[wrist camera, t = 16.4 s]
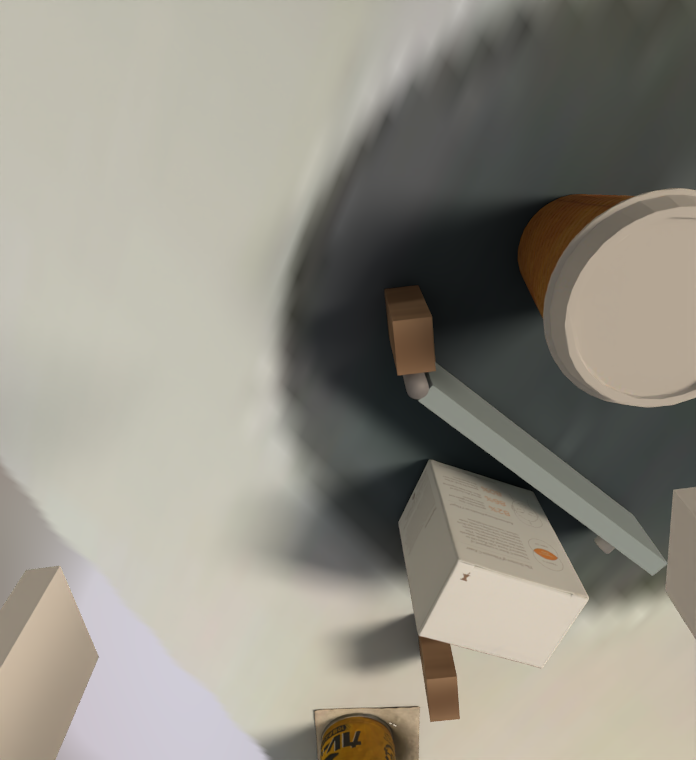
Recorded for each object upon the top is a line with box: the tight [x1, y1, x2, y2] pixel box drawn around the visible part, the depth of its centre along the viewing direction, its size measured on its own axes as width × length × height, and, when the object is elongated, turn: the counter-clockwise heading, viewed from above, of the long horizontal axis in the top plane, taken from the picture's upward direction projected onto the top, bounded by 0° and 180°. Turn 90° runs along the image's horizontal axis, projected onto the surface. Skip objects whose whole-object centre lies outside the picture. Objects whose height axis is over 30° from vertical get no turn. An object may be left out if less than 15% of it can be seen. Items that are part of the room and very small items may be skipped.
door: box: [403, 362, 668, 576], centre depth 40 cm, size 21×2×6 cm, turn 51°
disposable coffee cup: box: [518, 188, 696, 407], centre depth 32 cm, size 10×10×12 cm
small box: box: [398, 459, 589, 668], centre depth 40 cm, size 8×6×10 cm
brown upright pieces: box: [384, 285, 460, 722], centre depth 41 cm, size 29×2×6 cm, turn 7°
